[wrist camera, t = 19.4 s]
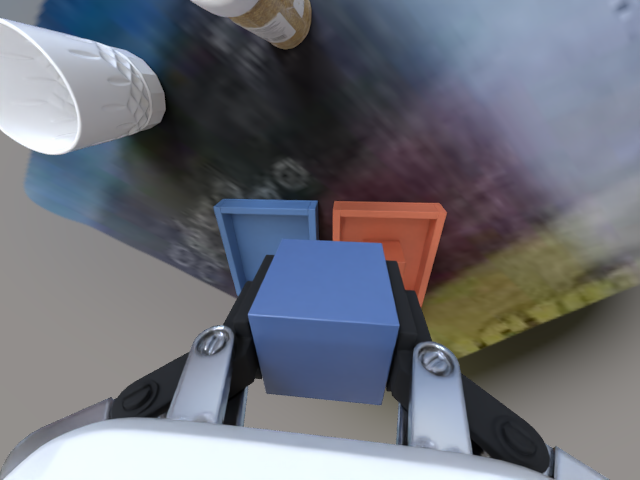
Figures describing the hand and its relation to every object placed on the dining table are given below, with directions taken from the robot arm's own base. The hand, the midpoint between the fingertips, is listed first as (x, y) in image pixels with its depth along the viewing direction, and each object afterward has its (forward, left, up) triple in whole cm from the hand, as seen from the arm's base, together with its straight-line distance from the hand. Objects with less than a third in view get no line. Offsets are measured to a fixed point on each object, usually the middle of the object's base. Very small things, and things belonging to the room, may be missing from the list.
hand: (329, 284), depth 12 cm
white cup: (+21, -8, -18) cm, 29 cm away
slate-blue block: (0, 0, 0) cm, 0 cm away
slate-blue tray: (+9, +10, -18) cm, 22 cm away
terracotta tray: (-5, +10, -18) cm, 21 cm away
